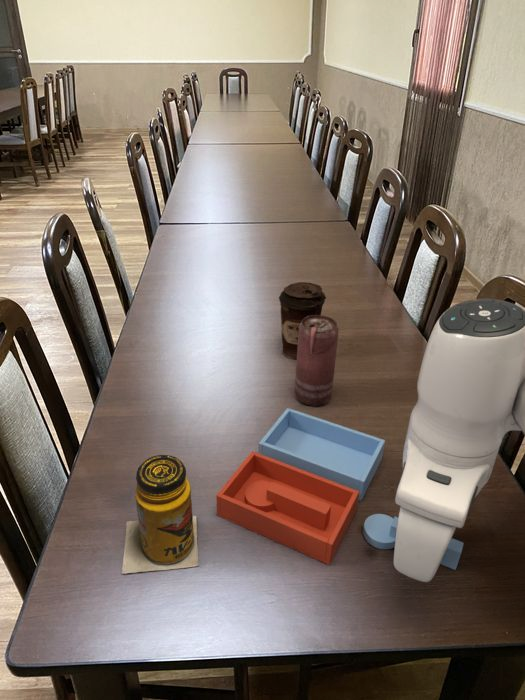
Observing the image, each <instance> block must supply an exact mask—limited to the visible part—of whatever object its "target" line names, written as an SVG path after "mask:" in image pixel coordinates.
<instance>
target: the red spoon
mask: <svg viewBox="0 0 525 700" xmlns="http://www.w3.org/2000/svg"><path fill="white" fill-rule="evenodd" d="M245 503H246V504H247V505H250V506H252V507H254V508H257V509H259V510H261V511H264V512H269V511H272V510H275V511H278V512H280V513H282V514H285V515H287V516H289V517H292V518H294V519H297V520H299V521H301V522H304V523H306V524H308V525H311V526H313V527H315V528H318V529H320V530H323V531H325V529H326V527H327V525H328V524H329V520H330V512H331V505H329V504H327V503H324V502H322V501H319V500H317V499H314V498H312V497H309V496H307V495H304V494H302V493H299V492H297V491H294V490H292V489H289V488H287V487H284V486H282V485H279V484H277V483H274V482H272V483H271V482H268V481H256V482H253V483H251V484H250V485H249V486H248V487H247V488H246V490H245Z"/></svg>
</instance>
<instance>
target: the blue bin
mask: <svg viewBox="0 0 525 700" xmlns="http://www.w3.org/2000/svg"><path fill="white" fill-rule="evenodd" d="M385 445H386V439H383V438H379V437H376V436H373V435H371V434H368V433H364V432H362V431H358V430H355V429H352V428H350V427H346V426H344V425H341V424H337V423H334V422H332V421H328V420H327V419H326V420H325V419H323V418H321V417H316V416H315V415H314V416H313V415H311V414H308V413H304V412H302V411H299V410H295V409H292V408H289V407H287V408H286V409H285V410H284V411H283V412H282V414H281V415H280V416H279V418H278V419H277V420H276V421H275V423H273V425H272V426H271V428H270V429H268V431H267V432H266V434H265V435H264V436H263V437H262V438H261V439H260V441H259V442H258V453H259V454H262V455H264V456H267V457H270V458H272V459H275V460H277V461H280V462H283V463H285V464H288V465H291V466H293V467H296V468H299V469H301V470H304V471H307V472H309V473H312V474H315V475H317V476H320V477H323V478H325V479H328V480H331V481H333V482H336V483H338V484H341V485H344V486H346V487H349V488H352V489H354V490H357V491H359V497H358V502H362V500H363V499H364V496H365V495H366V492H367V490H368V488H369V486H370V484H371V482H372V480H373V478H374V476H375V474H376V472H377V470H378V469H379V467H380V464H381V462H382V460H383V455H384V451H385Z"/></svg>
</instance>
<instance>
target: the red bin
mask: <svg viewBox="0 0 525 700" xmlns="http://www.w3.org/2000/svg"><path fill="white" fill-rule="evenodd" d="M256 481H268V482H271V483H272V482H274V483H277V484H279V485H282V486H284V487H287V488H289V489H292V490H294V491H297V492H299V493H302V494H304V495H307V496H309V497H312V498H314V499H317V500H319V501H322V502H324V503H327V504H329V505H331V512H330V520H329V524H328V525H327V527H326V529H325V531H323V530H320V529H318V528H315V527H313V526H311V525H308V524H306V523H304V522H301V521H299V520H297V519H294V518H292V517H289V516H287V515H285V514H282V513H280V512H278V511H275V510H272V511H269V512H264V511H261V510H259V509H257V508H254V507H252V506H250V505H247V504H246V503H245V490H246V488H247V487H248V486H249V485H250V484H251V483H253V482H256ZM358 497H359V491H357V490H354V489H352V488H349V487H346V486H344V485H341V484H338V483H336V482H333V481H331V480H328V479H325V478H323V477H320V476H317V475H315V474H312V473H309V472H307V471H304V470H301V469H299V468H296V467H293V466H291V465H288V464H285V463H283V462H280V461H277V460H275V459H272V458H270V457H267V456H264V455H262V454H259V452H256V451H254V450H252V451H251V452H250V453H249V455H248V456H247V457H246V458H245V459H244V461H243V462H242V463H241V464H240V466H239V467H238V468H237V469H236V471H235V472H234V473H233V474H232V475H231V476H230V478H229V479H228V480H227V481H226V483H225V484H224V485H223V486H222V487H221V489H220V490H219V491H218V492H217V494H216V497H215V500H216V516H217V517H220V518H222V519H225V520H227V521H229V522H231V523H233V524H236V525H238V526H240V527H243V528H245V529H247V530H249V531H252V532H254V533H256V534H258V535H261V536H263V537H265V538H267V539H270V540H272V541H274V542H277V543H279V544H281V545H284V546H285V547H288V548H290V549H292V550H295V551H297V552H299V553H301V554H303V555H305V556H308V557H310V558H312V559H315V560H317V561H319V562H321V563H324V564H326V565H328V566H330V565H331V563H332V561H333V560H334V557H335V555H336V553H337V551H338V549H339V548H340V545H341V543H342V542H343V539H344V537H345V535H346V533H347V531H348V529H349V527H350V525H351V523H352V521H353V519H354V517H355V514H356V513H357V510H358V509H357V508H358V503H359V500H358Z"/></svg>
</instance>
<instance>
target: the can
mask: <svg viewBox="0 0 525 700" xmlns="http://www.w3.org/2000/svg"><path fill="white" fill-rule="evenodd" d="M339 331H340V329H339V326H338V323H337V321H336V320H335V319H334V318H332V317H330V316H327V315H322V314H321V315H312V316H308V317H305V318H304V319H303V320H302V322H301V324H300V326H299V333H298V349H297V359H296V365H295V367H296V368H295V383H294V395H295V398H296V399H297V400H298V401H299V402H300V403H301V404H302V405H304V406H308V407H322V406H324V405H326V404H327V403H328V402H329V401H330V400H331V399H332V396H333V387H334V379H335V370H336V369H335V367H336V358H337V350H338V349H337V348H338V341H339Z"/></svg>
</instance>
